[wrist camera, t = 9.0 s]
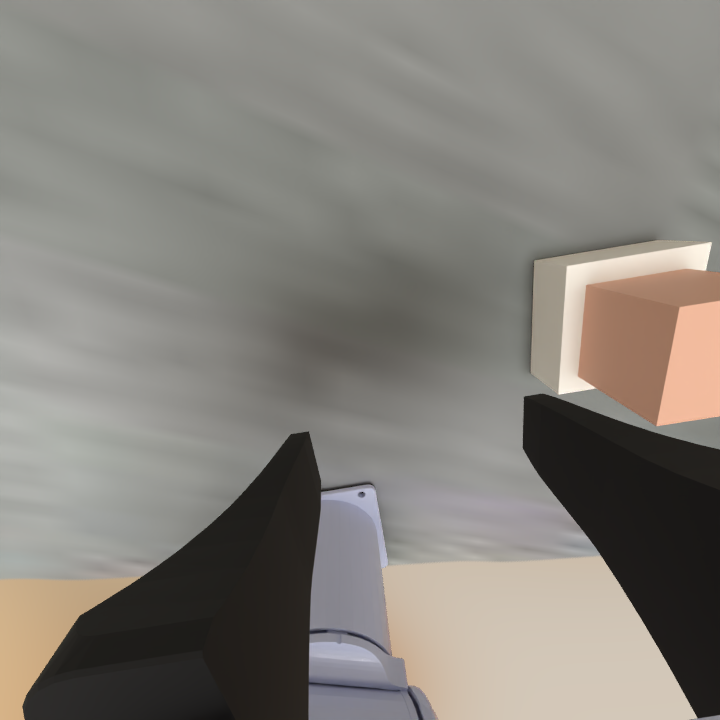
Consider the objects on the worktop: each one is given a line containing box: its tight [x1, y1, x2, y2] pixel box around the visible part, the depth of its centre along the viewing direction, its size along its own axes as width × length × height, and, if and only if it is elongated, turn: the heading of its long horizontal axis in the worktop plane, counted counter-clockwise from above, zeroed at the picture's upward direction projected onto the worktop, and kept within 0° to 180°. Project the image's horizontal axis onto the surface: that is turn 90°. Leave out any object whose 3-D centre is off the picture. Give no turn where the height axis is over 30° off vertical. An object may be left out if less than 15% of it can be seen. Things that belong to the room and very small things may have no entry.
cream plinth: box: [531, 240, 712, 394], centre depth 19 cm, size 7×7×3 cm
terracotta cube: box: [578, 269, 720, 426], centre depth 15 cm, size 5×5×5 cm
